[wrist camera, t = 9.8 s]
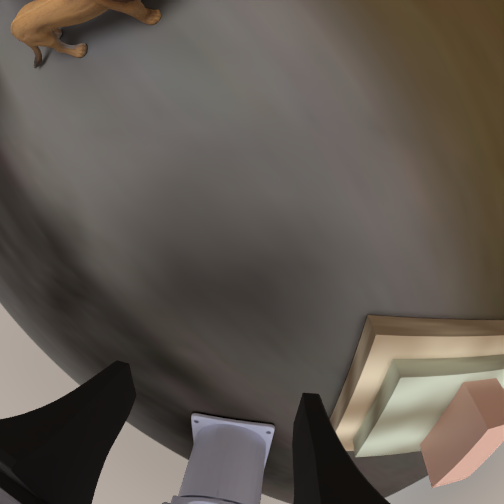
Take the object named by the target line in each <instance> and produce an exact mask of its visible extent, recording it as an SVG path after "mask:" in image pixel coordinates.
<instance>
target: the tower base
mask: <svg viewBox="0 0 504 504" xmlns="http://www.w3.org/2000/svg"><path fill="white" fill-rule="evenodd" d="M492 378H497V380H498V381H499V383H500V384H501V386H502V387H503V389H504V320H460V319H431V318H410V317H392V316H377V315H368V316H367V319H366V322H365V326H364V329H363V332H362V335H361V338H360V341H359V344H358V347H357V350H356V353H355V356H354V359H353V362H352V364H351V367H350V370H349V373H348V375H347V378H346V381H345V383H344V386H343V388H342V391H341V394H340V396H339V399H338V401H337V403H336V406H335V408H334V411H333V413H332V415H331V418H330V422H331V424H332V426H333V428H334V430H335V432H336V434H337V436H338V438H339V440H340V441H341V443H342V445H343V447H344V448H345V450H346V451H354V453H355V457H366V456H379V455H390V454H399V453H407V452H414V451H421V448H420V444H421V442H422V441H423V440H424V439H425V437H426V436H427V435H428V433H429V432H430V431H431V429H432V428H433V427H434V425H435V424H436V423H437V421H438V420H439V418H440V417H441V416H442V414H443V413H444V411H445V410H446V408H447V407H448V405H449V404H450V402H451V401H452V399H453V398H454V396H455V395H456V393H457V391H458V390H459V388H460V387H461V385H462V383H463V382H468V381H477V380H485V379H492Z"/></svg>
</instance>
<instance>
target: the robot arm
mask: <svg viewBox="0 0 504 504" xmlns="http://www.w3.org/2000/svg"><path fill="white" fill-rule="evenodd" d="M135 398H136V392H135V388H134V384H133V379H132V375H131V371H130V366H129V364H128V363H124V362H121V361H115V362H114V363H112V364H111V365H110V366H108V367H107V368H105V369H104V370H103V371H101V372H100V373H98V374H97V375H96V376H94V377H93V378H91V379H90V380H88V381H87V382H85V383H84V384H83V385H81V386H80V387H78V388H76V389H75V390H74V391H72V392H70V393H68V394H67V395H65V396H63V397H62V398H60V399H58V400H56V401H54V402H52V403H50V404H48V405H46V406H43V407H41V408H38V409H36V410H33V411H30V412H28V413H25V414H21V415H18V416H14V417H10V418H5V419H0V504H92V500H93V496H94V492H95V488H96V485H97V482H98V479H99V476H100V473H101V470H102V468H103V465H104V462H105V460H106V457H107V455H108V453H109V451H110V449H111V447H112V445H113V443H114V441H115V439H116V438H117V436H118V434H119V432H120V431H121V429H122V427H123V425H124V423H125V421H126V420H127V418H128V416H129V414H130V411H131V409H132V406H133V403H134V401H135ZM191 422H192V432H193V441H194V445H193V449H192V452H191V455H190V459H189V462H188V465H187V468H186V472H185V475H184V478H183V482H182V485H181V489H180V491H179V495H178V496H173V498H172V501H171V503H167V502H164V503H162V504H260V500H261V491H262V482H263V473H264V468H265V464H266V461H267V457H268V453H269V449H270V446H271V442H272V438H273V434H274V430H275V426H274V425H272V424H264V423H255V422H247V421H240V420H233V419H226V418H220V417H214V416H209V415H203V414H198V413H193V414H192V416H191ZM292 448H293V469H294V504H390V503H389V502H388V501H387V500H386V499H385V498H383V497H382V496H381V495H380V493H379V492H378V491H377V490H376V489H375V488H374V487H373V486H372V485H371V484H370V483H369V482H368V481H367V479H366V478H365V477H364V476H363V474H362V473H361V472H360V471H359V469H358V468H357V467H356V465H355V464H354V462H353V461H352V459H351V458H350V456H349V455H348V453H347V452H346V450H345V448H344V447H343V445H342V443H341V441H340V440H339V438H338V436H337V434H336V432H335V430H334V428H333V426H332V424H331V422H330V420H329V417H328V415H327V413H326V411H325V408H324V406H323V403H322V400H321V398H320V395H319V394H313V393H303V394H302V398H301V401H300V404H299V408H298V411H297V414H296V417H295V421H294V427H293V442H292Z"/></svg>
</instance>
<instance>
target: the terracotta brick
mask: <svg viewBox="0 0 504 504" xmlns="http://www.w3.org/2000/svg"><path fill="white" fill-rule="evenodd" d="M503 441H504V389H503V387H502V386H501V384H500V383H499V381H498V380H497V378H492V379H485V380H477V381H468V382H463V383H462V385H461V387H460V388H459V390H458V391H457V393H456V395H455V396H454V398H453V399H452V401H451V402H450V404H449V405H448V407H447V408H446V410H445V411H444V413H443V414H442V416H441V417H440V418H439V420H438V421H437V423H436V424H435V425H434V427H433V428H432V429H431V431H430V432H429V433H428V435H427V436H426V437H425V439H424V440H423V441H422V442H421V444H420V448H421V451H422V454H423V458H424V461H425V464H426V468H427V471H428V475H429V479H430V482H431V486H432V488H433V487H437V486H441V485H445V484H448V483H453V482H456V481H459V480H463V479H466V478H467V477H469V476H470V475H471V474H472V473H473V472H474V471H475V470H476V469H477V468H478V467H479V466H480V465H481V464H482V463H483V462H484V461H485V460H486V459H487V458H488V457H489V456H490V455H491V454H492V453H493V452H494V451H495V450H496V449H497V448H498V446H499V445H500V444H501V443H502V442H503Z"/></svg>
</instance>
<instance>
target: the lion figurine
mask: <svg viewBox="0 0 504 504" xmlns="http://www.w3.org/2000/svg"><path fill="white" fill-rule="evenodd" d="M141 1H142V0H36V1H32V2H30V3H28V4H27V5H25V6H24V7H23V8H22V9H21V10H20V11H19V13H18V14H17V16H16V18H15V19H14V21H13V22H12V24H11V33H12V34H13V35H14V36H15V37H16V38H17V39H18V40H19V41H22V42H24V43H25V44H27V45H28V46H29V47H31V48H32V49H33V51H34V53H35V61H34V68H37V67H38V66H39V65H40V64H41V62H42V54H41V51H40V49H39V47H38V46H46V47H50V48H53V49H55V50H56V51H58V52H61V53H67V54H70V55H72V56H74V57H78V58H80V57H83V56H84V55H85V54H86V52H87V45H86V44H83V43H80V44H77V45H68V44H65V43H63V42H61V41H60V39H59V38H60V37H61V35H62V31H61V29H56V28H60V27H65V26H72V25H77V24H81V23H83V22H86V21H89V20H91V19H93V18H95V17H97V16H99V15H101V14H102V13H104V12H105V11H107V10H109V9H112V10H116V11H120V12H123V13H126V14H128V15H130V16H132V17H134V18H136V19H138V20H139V21H141V22H143V23H146V24H149V25H153V24H156V23H157V22H158V21H159V20H160V18H161V13H160V11H159V10H151V9H149V8H145V7H144V5H143V4H142V2H141Z"/></svg>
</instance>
